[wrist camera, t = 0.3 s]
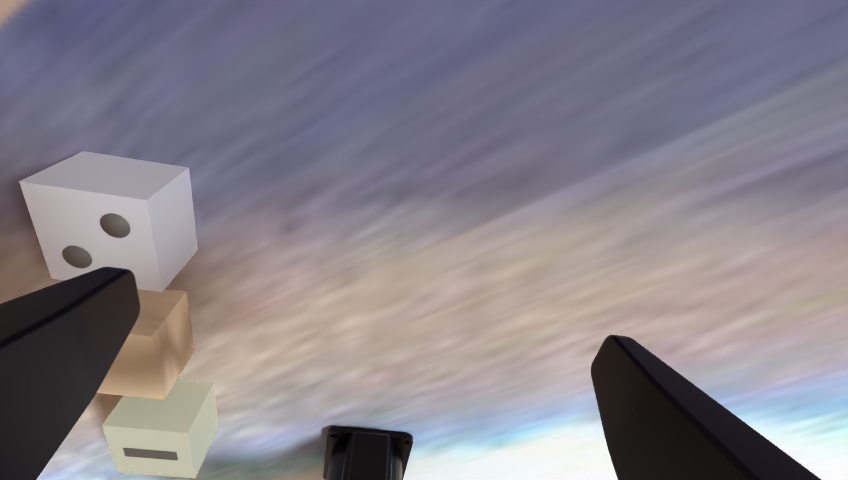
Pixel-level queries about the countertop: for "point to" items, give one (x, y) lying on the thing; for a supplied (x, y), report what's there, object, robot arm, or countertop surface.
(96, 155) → the white die
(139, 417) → the sage block one
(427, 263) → the countertop surface
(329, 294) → the countertop surface
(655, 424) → the robot arm
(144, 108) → the countertop surface
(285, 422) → the countertop surface
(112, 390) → the birch block
